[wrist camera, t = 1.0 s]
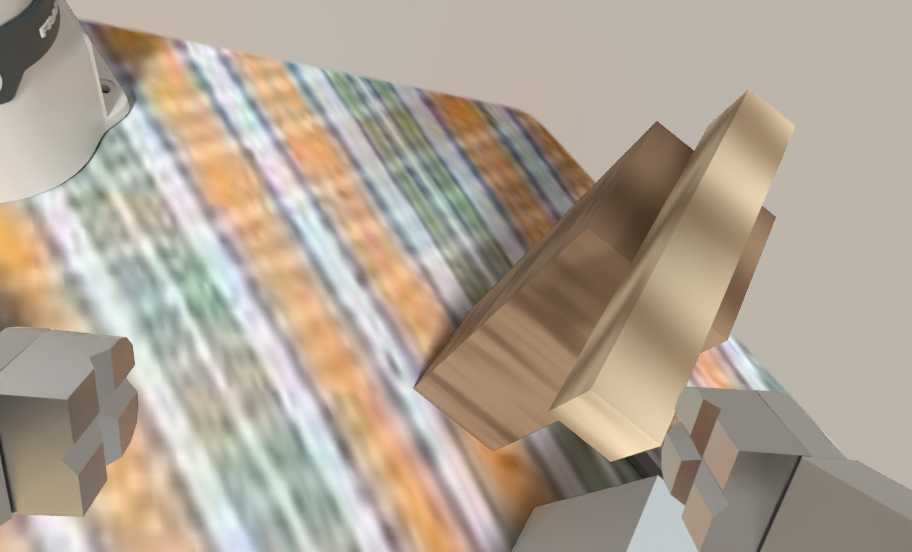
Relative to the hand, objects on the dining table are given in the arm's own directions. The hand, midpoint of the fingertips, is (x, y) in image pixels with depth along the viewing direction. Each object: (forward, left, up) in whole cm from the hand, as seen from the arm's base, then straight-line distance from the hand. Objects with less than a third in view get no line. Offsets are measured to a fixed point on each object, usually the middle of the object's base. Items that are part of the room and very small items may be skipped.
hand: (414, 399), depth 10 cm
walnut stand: (-4, +21, -38) cm, 44 cm away
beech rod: (-3, +19, -12) cm, 22 cm away
